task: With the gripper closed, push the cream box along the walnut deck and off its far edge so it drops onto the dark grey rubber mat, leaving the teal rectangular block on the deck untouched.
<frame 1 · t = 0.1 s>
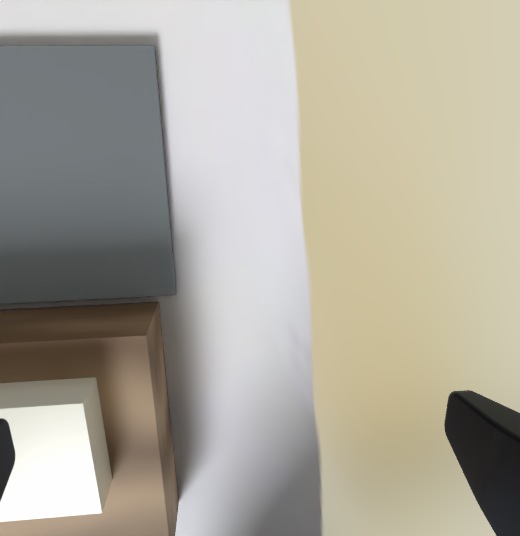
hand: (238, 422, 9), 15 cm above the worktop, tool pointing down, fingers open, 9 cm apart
cream box: (8, 437, 20), point 4 cm above the worktop, touching deck
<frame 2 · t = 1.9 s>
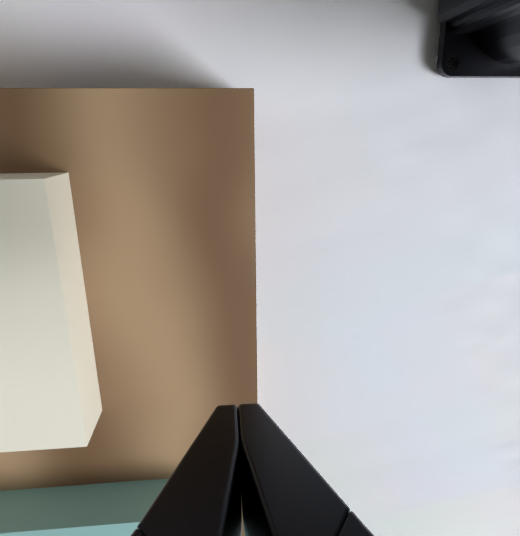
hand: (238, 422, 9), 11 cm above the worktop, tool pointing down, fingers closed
deck: (101, 349, 20), on the worktop
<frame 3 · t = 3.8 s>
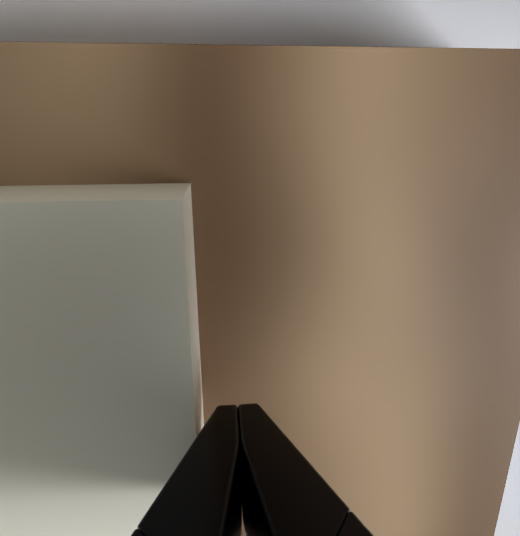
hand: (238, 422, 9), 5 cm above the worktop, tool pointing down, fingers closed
cream box: (65, 390, 9), point 4 cm above the worktop
deck: (239, 418, 15), on the worktop
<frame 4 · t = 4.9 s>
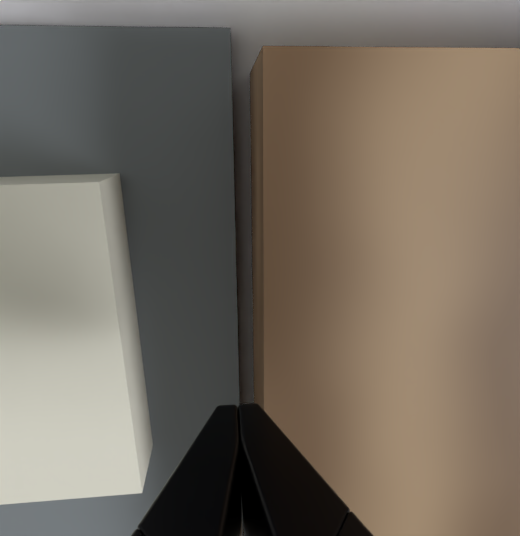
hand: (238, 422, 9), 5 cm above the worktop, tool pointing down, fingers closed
cream box: (3, 364, 11), point 2 cm above the worktop, tilted 180°, touching mat
mat: (47, 349, 13), on the worktop
deck: (447, 407, 15), on the worktop
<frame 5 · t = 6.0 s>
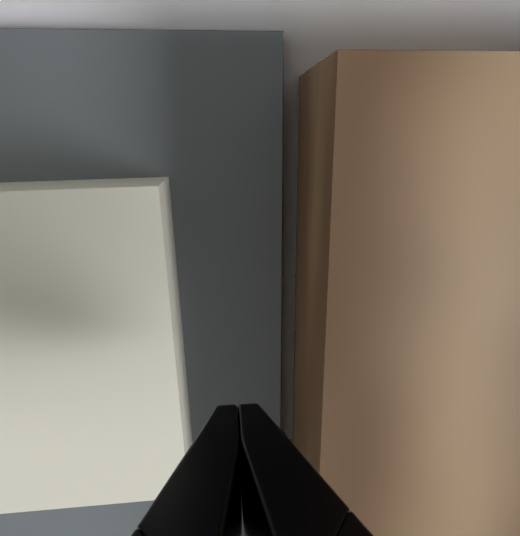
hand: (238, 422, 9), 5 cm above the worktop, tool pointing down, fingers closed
cream box: (56, 369, 11), point 2 cm above the worktop, tilted 180°, touching mat
mat: (89, 353, 13), on the worktop
deck: (485, 408, 15), on the worktop
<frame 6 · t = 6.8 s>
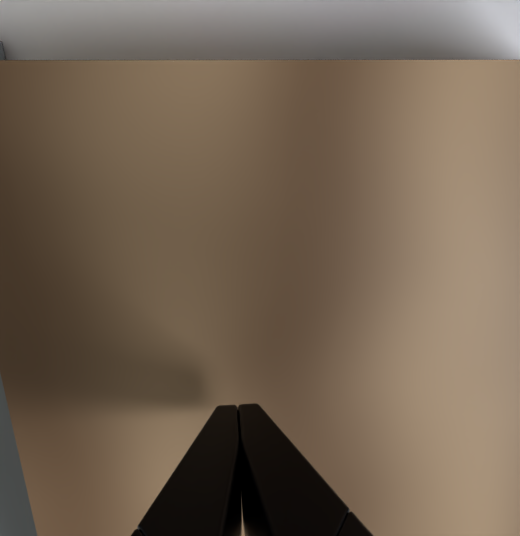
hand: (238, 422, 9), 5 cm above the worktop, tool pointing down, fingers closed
deck: (299, 430, 15), on the worktop
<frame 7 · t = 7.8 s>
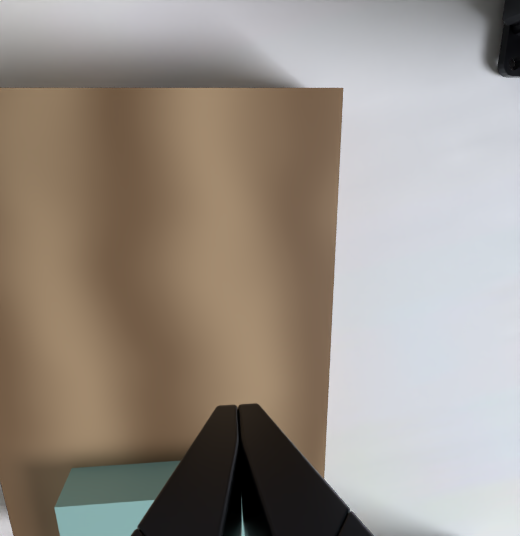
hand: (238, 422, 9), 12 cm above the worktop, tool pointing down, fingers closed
teal rectangular block: (182, 514, 19), point 4 cm above the worktop, touching deck
deck: (170, 336, 21), on the worktop
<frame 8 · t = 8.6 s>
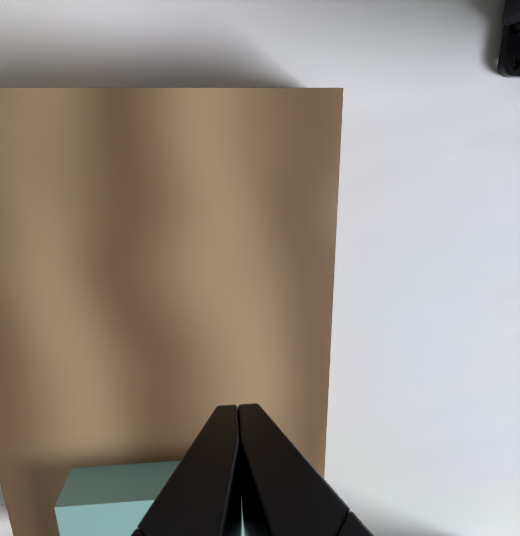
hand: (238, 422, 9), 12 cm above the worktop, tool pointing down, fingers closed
teal rectangular block: (182, 514, 19), point 4 cm above the worktop, touching deck
deck: (170, 336, 21), on the worktop
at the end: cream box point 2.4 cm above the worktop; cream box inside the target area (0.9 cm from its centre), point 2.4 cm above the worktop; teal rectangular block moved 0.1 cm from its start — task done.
